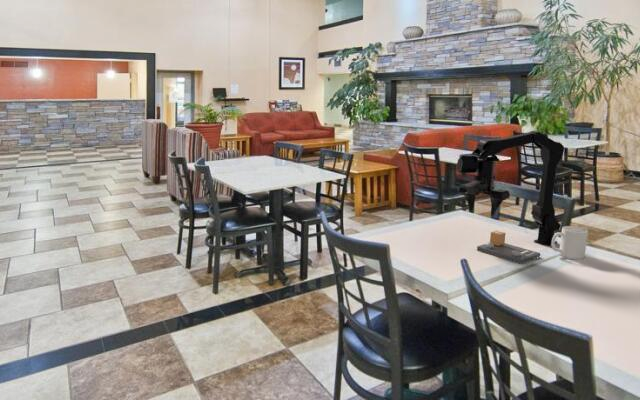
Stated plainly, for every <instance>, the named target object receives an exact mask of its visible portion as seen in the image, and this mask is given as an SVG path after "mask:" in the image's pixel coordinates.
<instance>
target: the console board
mask: <svg viewBox="0 0 640 400" xmlns="http://www.w3.org/2000/svg"><path fill="white" fill-rule="evenodd" d="M476 251H479V252H481V253H485V254H488V255H492V256H495V257H498V258H501V259H504V260H506V261H507V260H508V261H510V260H511V261H510V262H513V261H515V263H517V262H519V263H518V264H520V263H522V264H524V263H523V262H525V263H527V262H526V261H528V262H530V261H529V260H531V259H533V260H535V259H534V258H536V259H538V258H537V257H539V256H540V257H541V252H538V251H535V250H530V249H527V248H523V247H520V246H518V245H517V246H516V245H513V244H509V243H506V242H505V244H503V245H500V246H497V245H494V244H493V243H490V242H486V243H485V244H481V245H478V246H476ZM540 257H539V258H540ZM531 261H532V260H531Z"/></svg>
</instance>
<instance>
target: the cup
mask: <svg viewBox="0 0 640 400" xmlns="http://www.w3.org/2000/svg"><path fill="white" fill-rule="evenodd" d="M588 234H589V229H586V228H585V227H580V226H574V225H565V226H562V228H561V232H559V231H558V232H555V235H554V236H553V238H552V243H551V245H550V246H551V249H552V250H553V251H555V252H558V253H559V255H560V257H562V258H564V259H569V260H574V261H575V260H576V261H577V260H579V261H580V260H583V259H584V258H585V256H586V250H587V249H586V248H587V244H588V243H587V242H588V236H589V235H588ZM557 237H560V242H559V248H557V247H556V244H555V241H556V239H557Z"/></svg>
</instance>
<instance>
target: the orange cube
mask: <svg viewBox="0 0 640 400" xmlns="http://www.w3.org/2000/svg"><path fill="white" fill-rule="evenodd" d="M489 243H493V244H494V245H497V246H500V245H503V244H505V243H506V232H504V231H500V230H495V231H491V232H490V238H489Z"/></svg>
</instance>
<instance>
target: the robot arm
mask: <svg viewBox="0 0 640 400" xmlns="http://www.w3.org/2000/svg"><path fill="white" fill-rule="evenodd" d="M530 144H533V145H534V146H536V147H537V148H538V149H540V151H539V152H540V153H539V154H540V158H541V162H542V171H541V180H540V187H539V195H538V200H537V202H536V203H535V204H534V203H533V204H532V205H531V212H530V215H532V219H533V220H534V221H535V225H536V226H539V227H538V234H537V239H534V240H533V242H534V243H537V244H542V245H545V246H549V247H550V246H552V245H551V243H552V238H553V236H554V235H555V234H556V231H559V230H560V229H561V224H560V223H559V222H558V221H557V219H556V210H555V207H554V204H553V201H554V200H553V199H554V190H555V183H556V175H557V169H558V168H557V167H558V165H559V163H560V162H561V160H562V159H563V156H564V152H565V147H564V145H563V144H562V142H560V141H554V140H553V139H551V138H550V137H548V136H546V135H544V134H543V133H542V132H541V131H536V130H531V131H529V132H523V133H520V134H516V135H510V136H506V137H503V138H482V139H481V140H479V141H478V143H477V146H476V147H475V149H474V150H473V151H472V152H471V154H470V155H465V154H460V155H459V158H458V159H457V162H456V170H457V173H458V174H474V173H476V175H474V176H473V180H472V181H471V182H469V183H462V184H461V183H460V185H459V186H458V192H460V193H461V195H462V196H464V197H465V199H466V201H467V204H468V208H469V211H470V212H472V211H473V210H474V206H475V201H476V196H478V195H480V194H483V195H489V196H491V198H490V201H491V209H490V216H491V217H494V215H495V213H496V212H497V210H498V209H499V207H500V205H501V204H502V202H504V201H505V200H507V199H510V196H511V195H510V194H511V193H510V191H509V190H505V189H500V188H499V189H495V186H493V180H494V179H495V178H496V176H495V175H494V170H495V169H494V168H495V162H500V161H501V159H500V158H499V157H498V156H497V154H500V153H501V152H503V151H505V150H508V149H512V148H516V147H521V146H525V145H530ZM494 189H495V190H494ZM557 243H558V241H557V240H555V245H556V244H557Z"/></svg>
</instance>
